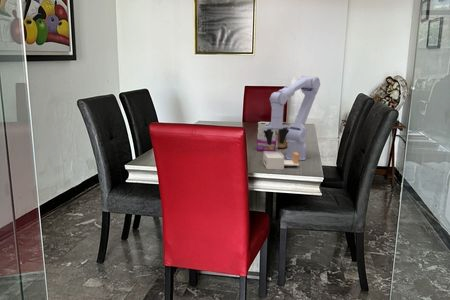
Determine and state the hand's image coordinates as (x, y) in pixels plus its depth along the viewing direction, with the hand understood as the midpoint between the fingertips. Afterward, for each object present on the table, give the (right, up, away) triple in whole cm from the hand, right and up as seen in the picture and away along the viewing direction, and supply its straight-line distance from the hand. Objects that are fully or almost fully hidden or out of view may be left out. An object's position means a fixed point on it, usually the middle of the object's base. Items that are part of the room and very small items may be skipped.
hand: (275, 143), depth 199 cm
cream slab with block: (+3, -10, -4) cm, 11 cm away
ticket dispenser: (-2, -11, -4) cm, 11 cm away
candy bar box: (-1, -4, +28) cm, 28 cm away
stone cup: (+8, -1, +41) cm, 41 cm away
